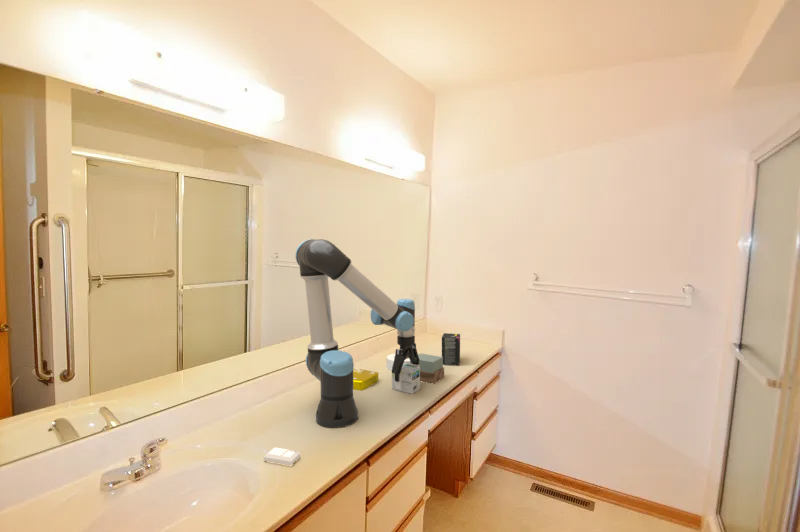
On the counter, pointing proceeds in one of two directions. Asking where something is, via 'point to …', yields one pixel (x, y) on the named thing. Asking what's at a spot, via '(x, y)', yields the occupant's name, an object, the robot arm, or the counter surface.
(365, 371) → the element tile
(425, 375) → the walnut base block
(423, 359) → the grey-green top block
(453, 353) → the tampon box
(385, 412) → the counter surface
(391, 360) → the roll of tape
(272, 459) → the soap bar
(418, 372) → the light bulb box
